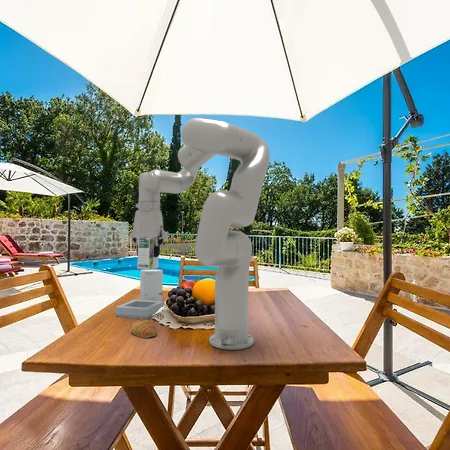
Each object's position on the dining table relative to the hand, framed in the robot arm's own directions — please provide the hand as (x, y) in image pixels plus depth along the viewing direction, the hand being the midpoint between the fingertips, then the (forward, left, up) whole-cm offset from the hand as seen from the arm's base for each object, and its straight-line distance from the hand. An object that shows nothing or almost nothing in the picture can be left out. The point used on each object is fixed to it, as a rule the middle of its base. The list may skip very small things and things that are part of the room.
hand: (148, 255), depth 116 cm
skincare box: (+18, +8, -23) cm, 30 cm away
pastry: (-16, -8, -23) cm, 29 cm away
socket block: (+4, +5, -22) cm, 23 cm away
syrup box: (0, 0, -5) cm, 5 cm away
